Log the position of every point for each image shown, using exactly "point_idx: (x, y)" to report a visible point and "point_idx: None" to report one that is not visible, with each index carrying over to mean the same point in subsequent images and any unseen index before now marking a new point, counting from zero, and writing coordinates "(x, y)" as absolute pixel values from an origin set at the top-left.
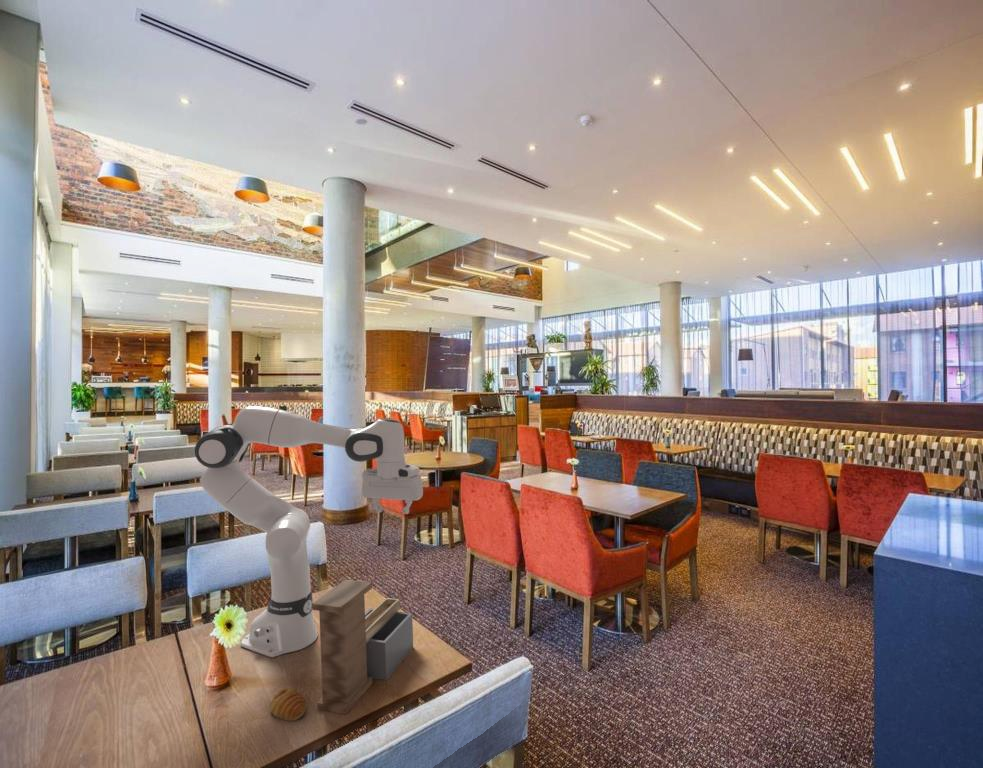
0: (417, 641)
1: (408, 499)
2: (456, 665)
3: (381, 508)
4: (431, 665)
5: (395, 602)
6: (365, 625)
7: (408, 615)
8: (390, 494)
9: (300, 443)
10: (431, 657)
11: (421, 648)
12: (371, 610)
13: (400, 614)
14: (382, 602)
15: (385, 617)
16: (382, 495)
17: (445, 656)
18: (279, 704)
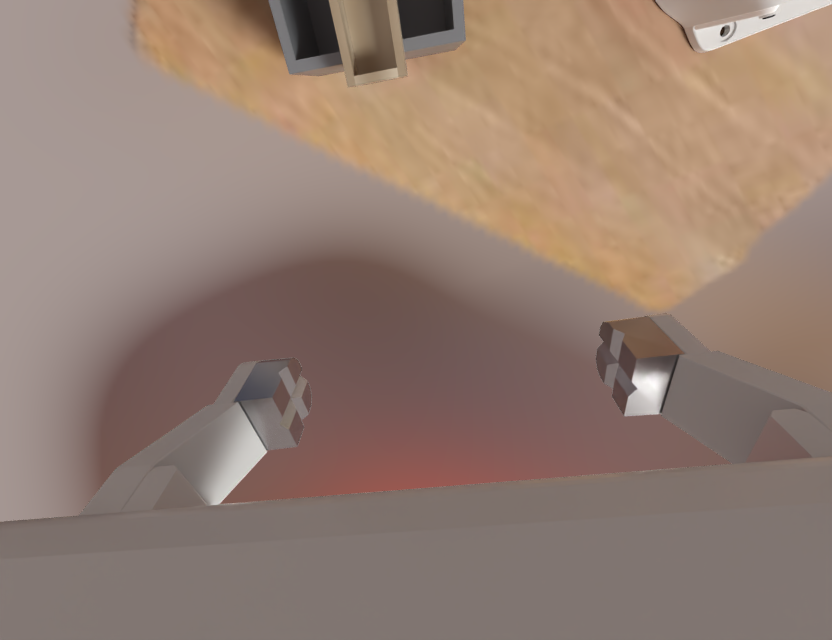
0: (328, 110)
1: (11, 527)
2: (149, 41)
3: (616, 373)
4: (205, 5)
5: (343, 52)
6: None
7: (291, 53)
8: (414, 613)
9: None
10: (236, 47)
11: (294, 80)
12: (453, 29)
13: (329, 54)
14: (394, 24)
15: None
16: (679, 550)
17: (208, 71)
18: None
